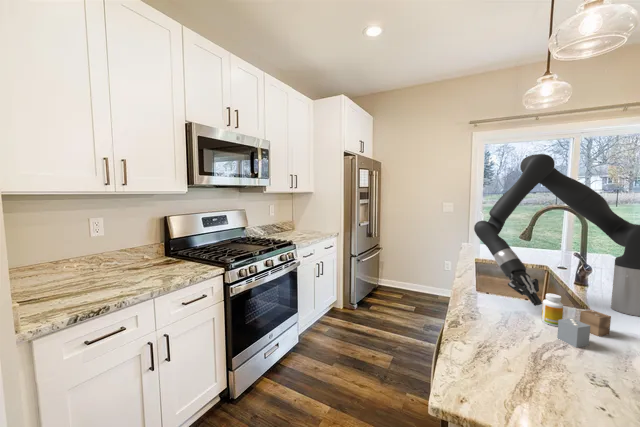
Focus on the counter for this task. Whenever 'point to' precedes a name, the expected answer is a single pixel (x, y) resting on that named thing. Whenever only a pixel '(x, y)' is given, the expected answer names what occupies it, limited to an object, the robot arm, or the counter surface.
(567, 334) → the slate three pip block
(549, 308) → the supplement bottle
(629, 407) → the counter surface
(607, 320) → the walnut two pip block
